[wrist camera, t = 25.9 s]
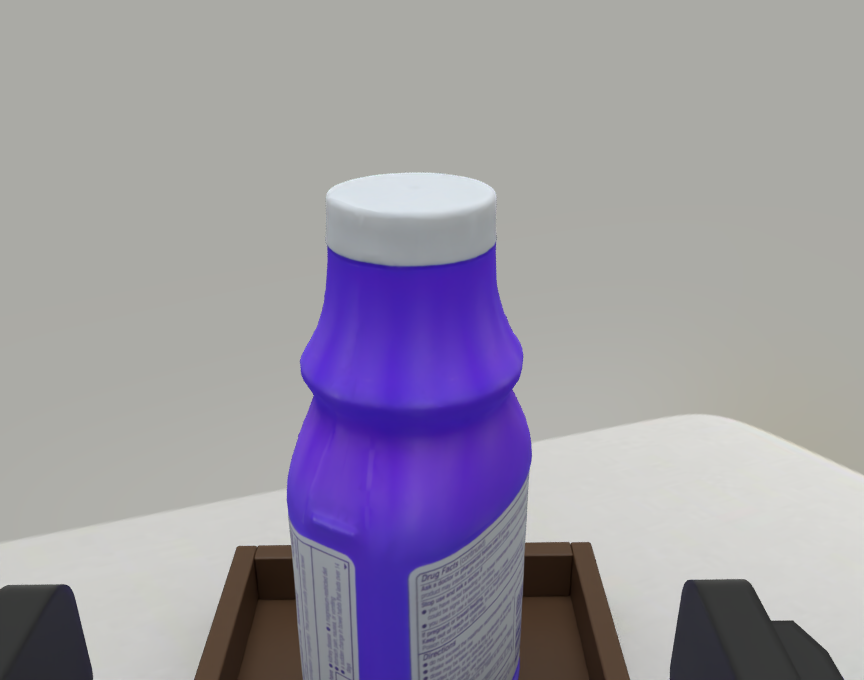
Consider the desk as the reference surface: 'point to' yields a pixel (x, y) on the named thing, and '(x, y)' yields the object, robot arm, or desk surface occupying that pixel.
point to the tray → (540, 620)
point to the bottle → (410, 443)
